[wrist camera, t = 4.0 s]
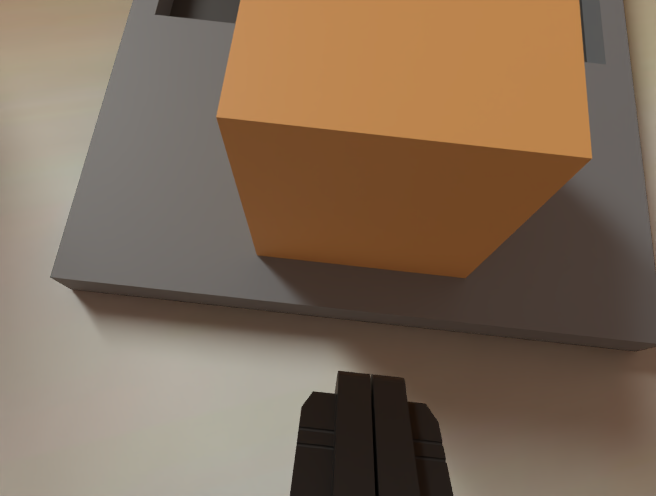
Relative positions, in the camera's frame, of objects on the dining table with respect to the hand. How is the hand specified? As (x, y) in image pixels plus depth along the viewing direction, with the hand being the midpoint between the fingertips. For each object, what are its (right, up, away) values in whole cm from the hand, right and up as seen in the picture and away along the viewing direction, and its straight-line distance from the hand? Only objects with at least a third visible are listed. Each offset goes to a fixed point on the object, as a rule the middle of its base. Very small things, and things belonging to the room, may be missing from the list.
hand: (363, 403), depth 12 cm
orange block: (+1, +6, +6) cm, 9 cm away
